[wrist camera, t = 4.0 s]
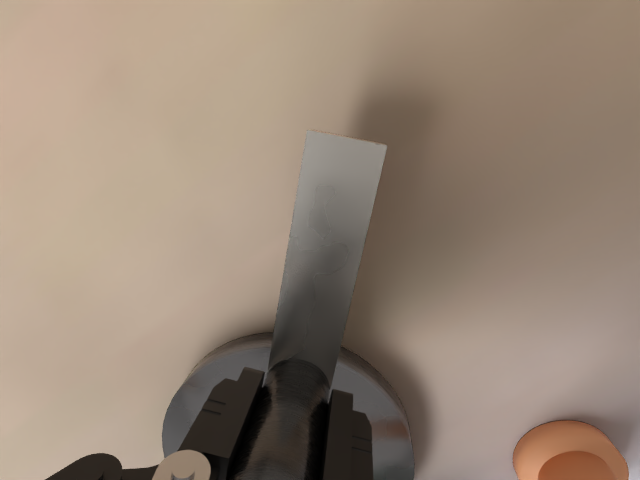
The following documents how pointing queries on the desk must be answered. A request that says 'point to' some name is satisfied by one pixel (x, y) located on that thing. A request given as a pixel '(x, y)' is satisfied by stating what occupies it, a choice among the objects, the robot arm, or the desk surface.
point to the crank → (312, 307)
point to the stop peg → (568, 454)
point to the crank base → (349, 376)
